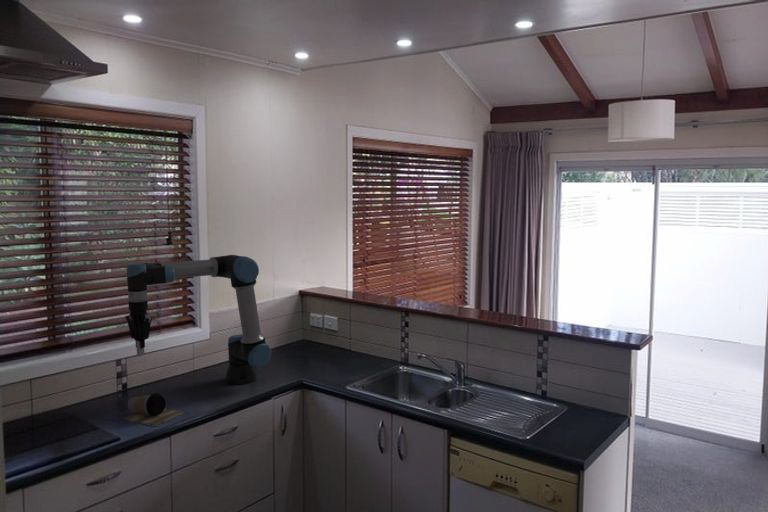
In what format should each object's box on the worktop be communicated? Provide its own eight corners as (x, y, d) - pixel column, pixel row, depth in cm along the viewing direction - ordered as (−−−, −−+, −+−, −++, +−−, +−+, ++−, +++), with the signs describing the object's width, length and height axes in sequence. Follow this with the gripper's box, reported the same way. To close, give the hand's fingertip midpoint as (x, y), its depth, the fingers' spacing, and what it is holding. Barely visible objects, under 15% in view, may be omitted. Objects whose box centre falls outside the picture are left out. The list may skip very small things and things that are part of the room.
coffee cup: (121, 400, 265) (146, 400, 258) (137, 389, 273) (162, 389, 266) (128, 419, 267) (154, 420, 261) (144, 407, 275) (169, 408, 269)
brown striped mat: (183, 413, 270) (183, 412, 269) (156, 426, 255) (156, 425, 255) (152, 407, 277) (151, 406, 277) (123, 419, 262) (123, 418, 262)
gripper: (119, 300, 262) (122, 355, 265) (142, 303, 257) (145, 359, 259) (133, 297, 269) (136, 351, 272) (156, 300, 263) (159, 354, 266)
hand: (140, 355), depth 266 cm, fingers closed
